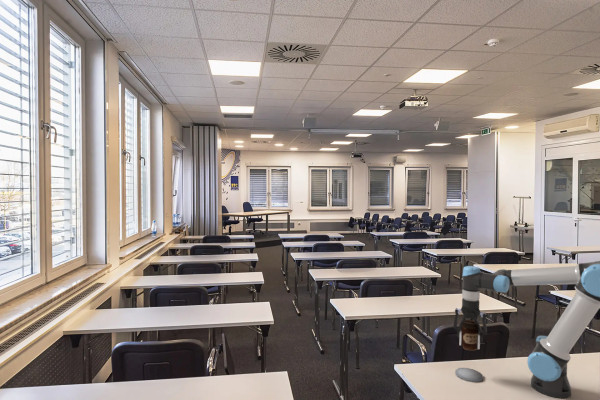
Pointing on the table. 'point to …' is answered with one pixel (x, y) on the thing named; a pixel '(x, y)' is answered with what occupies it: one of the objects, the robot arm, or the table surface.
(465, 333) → the coffee cup
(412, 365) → the table surface
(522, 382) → the table surface
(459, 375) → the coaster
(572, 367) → the table surface
